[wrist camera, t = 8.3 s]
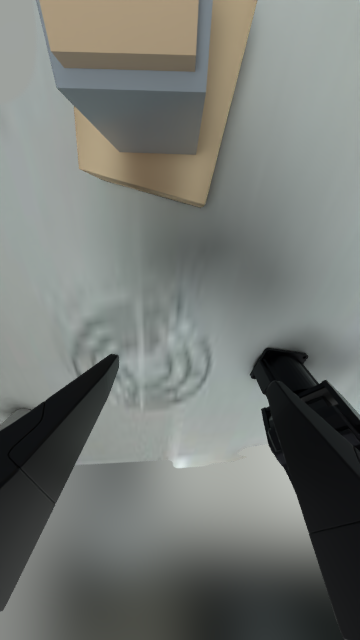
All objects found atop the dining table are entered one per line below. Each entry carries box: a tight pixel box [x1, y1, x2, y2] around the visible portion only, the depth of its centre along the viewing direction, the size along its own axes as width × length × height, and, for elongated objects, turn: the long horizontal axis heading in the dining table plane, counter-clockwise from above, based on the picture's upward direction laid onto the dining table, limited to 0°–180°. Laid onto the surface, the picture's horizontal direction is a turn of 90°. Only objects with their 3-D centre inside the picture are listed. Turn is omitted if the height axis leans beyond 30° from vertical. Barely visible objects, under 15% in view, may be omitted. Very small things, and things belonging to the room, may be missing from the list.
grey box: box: [36, 0, 213, 155], centre depth 6 cm, size 5×5×7 cm
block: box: [74, 0, 257, 208], centre depth 11 cm, size 9×9×4 cm
